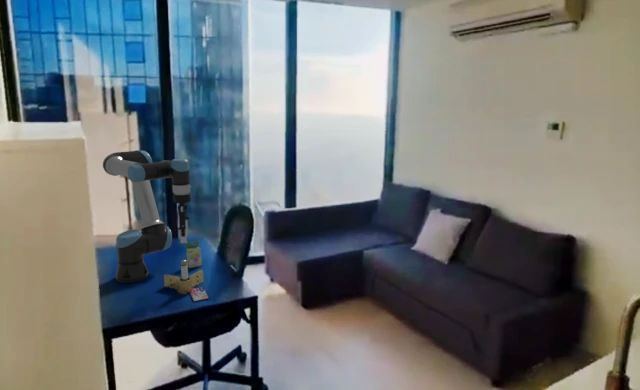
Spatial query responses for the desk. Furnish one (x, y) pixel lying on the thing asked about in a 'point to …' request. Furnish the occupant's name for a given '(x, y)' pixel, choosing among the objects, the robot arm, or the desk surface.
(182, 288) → the hinge
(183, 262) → the pin
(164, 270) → the desk surface
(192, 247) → the ink box
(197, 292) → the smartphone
